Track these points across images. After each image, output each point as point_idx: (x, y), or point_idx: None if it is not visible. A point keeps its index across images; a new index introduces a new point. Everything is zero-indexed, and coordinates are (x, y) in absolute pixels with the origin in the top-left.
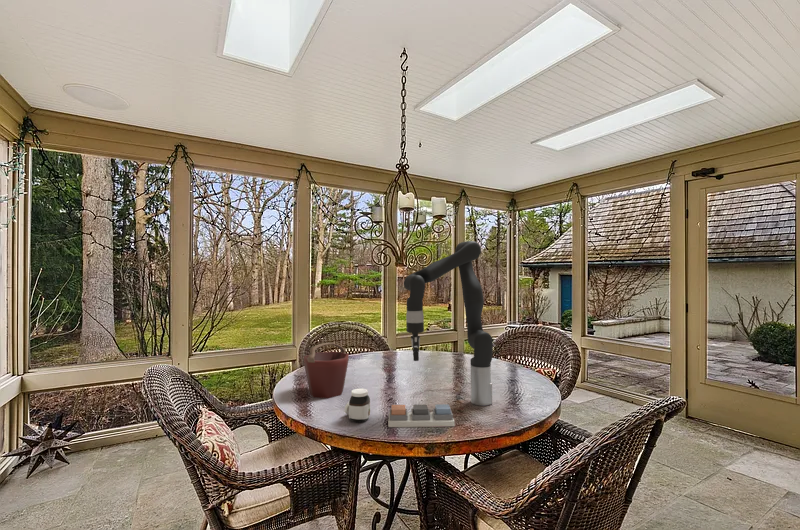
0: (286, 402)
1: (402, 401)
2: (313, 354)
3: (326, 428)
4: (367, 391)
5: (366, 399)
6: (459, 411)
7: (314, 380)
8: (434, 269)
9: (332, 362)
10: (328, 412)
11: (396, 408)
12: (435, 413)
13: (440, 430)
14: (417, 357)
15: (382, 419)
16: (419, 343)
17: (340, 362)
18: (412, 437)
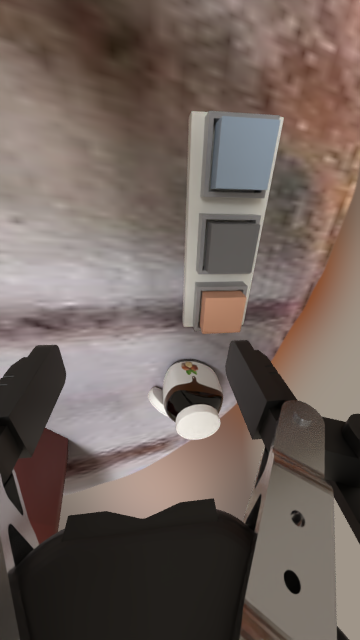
0: (103, 477)
1: (49, 289)
2: None
3: (224, 409)
4: (204, 412)
5: (211, 397)
6: (128, 48)
7: (61, 497)
8: None
9: None
10: (150, 421)
11: (233, 320)
12: (251, 193)
13: (289, 184)
14: (271, 367)
15: (192, 332)
16: (333, 539)
17: None
18: (305, 267)
